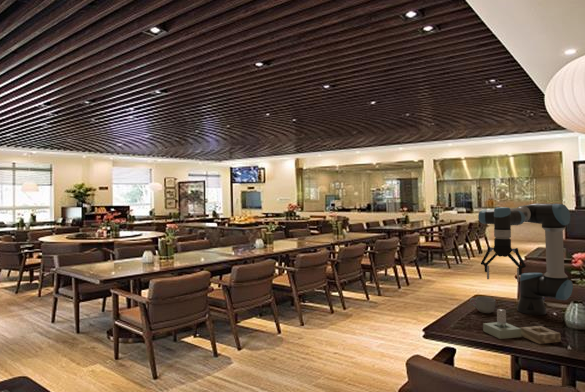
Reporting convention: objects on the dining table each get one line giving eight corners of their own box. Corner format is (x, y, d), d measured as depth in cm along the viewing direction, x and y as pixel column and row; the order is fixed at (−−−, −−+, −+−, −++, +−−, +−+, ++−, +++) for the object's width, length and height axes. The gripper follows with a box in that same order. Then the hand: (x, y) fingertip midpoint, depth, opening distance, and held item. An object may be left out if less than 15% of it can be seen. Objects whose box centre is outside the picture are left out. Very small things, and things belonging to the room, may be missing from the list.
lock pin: (502, 332, 211) (502, 308, 211) (507, 335, 207) (507, 310, 207) (495, 333, 210) (495, 309, 210) (500, 335, 206) (500, 311, 206)
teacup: (496, 311, 250) (496, 297, 250) (494, 315, 241) (494, 301, 241) (471, 308, 258) (471, 295, 258) (468, 312, 249) (468, 298, 249)
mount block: (540, 333, 209) (540, 325, 209) (560, 341, 197) (560, 333, 197) (519, 335, 206) (519, 327, 206) (539, 343, 194) (539, 335, 194)
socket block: (503, 329, 216) (503, 321, 216) (521, 337, 204) (521, 328, 204) (483, 331, 213) (483, 323, 213) (499, 338, 201) (499, 330, 201)
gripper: (474, 237, 214) (475, 279, 214) (530, 239, 200) (531, 284, 200) (476, 236, 220) (477, 276, 220) (531, 238, 207) (531, 281, 207)
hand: (502, 280), depth 210 cm, fingers open, 13 cm apart
